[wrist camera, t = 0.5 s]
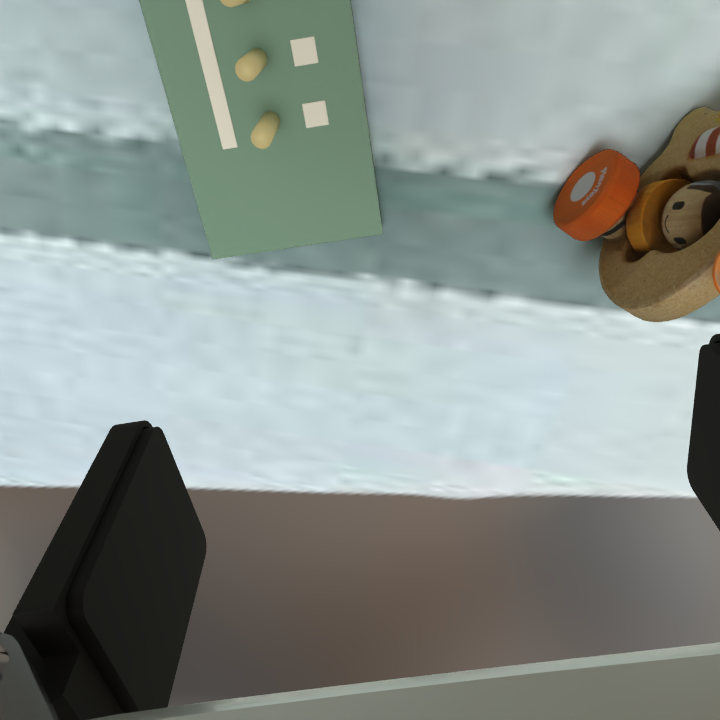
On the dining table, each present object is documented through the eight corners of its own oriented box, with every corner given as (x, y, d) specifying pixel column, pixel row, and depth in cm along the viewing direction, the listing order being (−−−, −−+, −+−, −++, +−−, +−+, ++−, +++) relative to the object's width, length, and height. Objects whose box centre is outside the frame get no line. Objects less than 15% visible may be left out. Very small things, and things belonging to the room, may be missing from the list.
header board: (101, -168, 29) (53, -195, 25) (320, -211, 29) (314, -247, 24) (217, 249, 39) (199, 287, 35) (381, 225, 39) (385, 260, 34)
